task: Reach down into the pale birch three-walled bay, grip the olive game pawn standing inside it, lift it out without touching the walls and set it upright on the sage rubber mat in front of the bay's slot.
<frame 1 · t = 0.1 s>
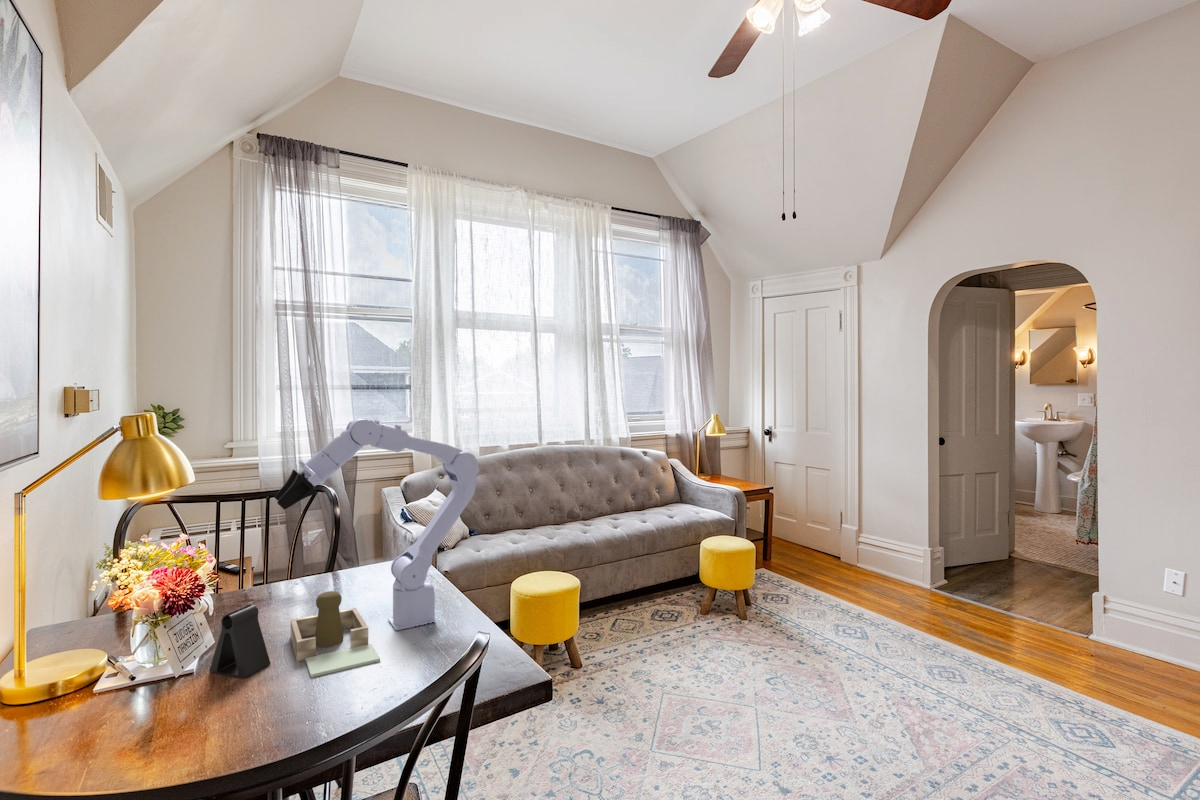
hand: (279, 503, 126), 32 cm above the table, tool tilted 50°, fingers open, 7 cm apart
black triangular stand: (240, 670, 117), on the table
olive game pawn: (328, 642, 130), resting in access bay
sage mat: (342, 661, 121), on the table
access bay: (328, 641, 130), on the table
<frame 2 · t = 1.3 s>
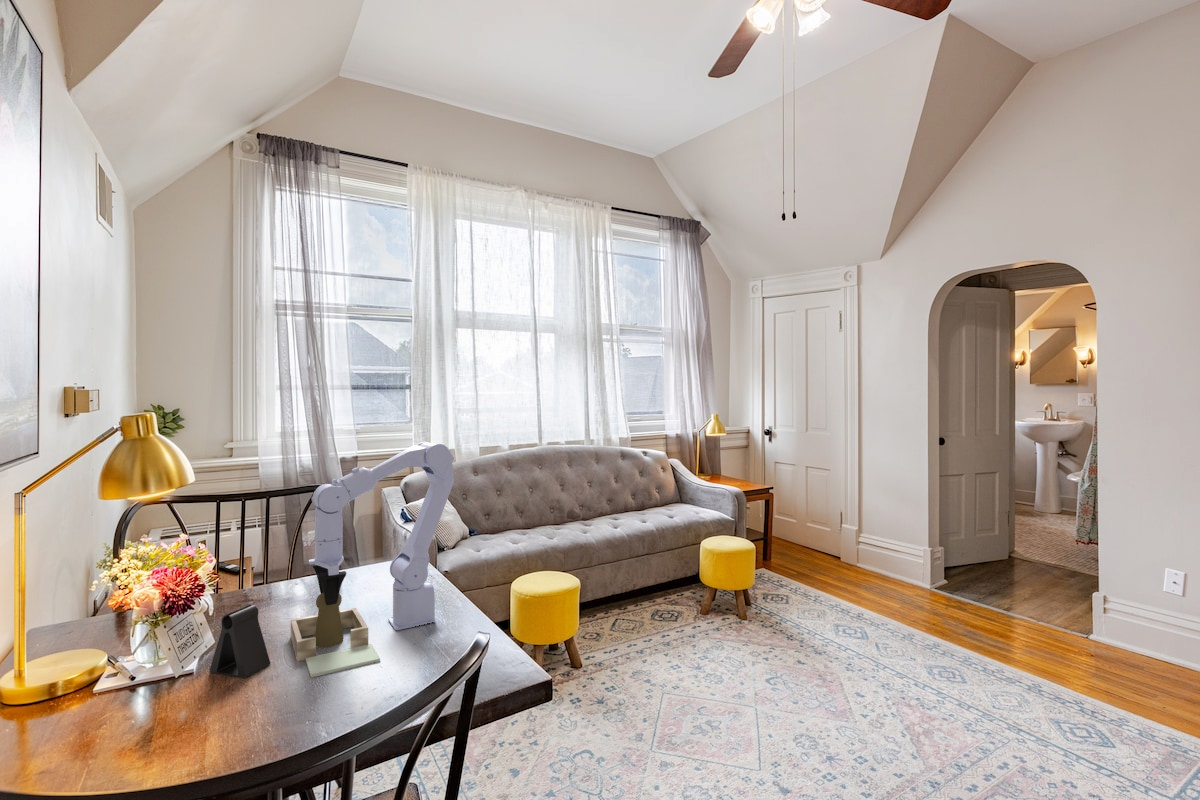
hand: (328, 598, 130), 10 cm above the table, tool pointing down, fingers open, 7 cm apart
nothing on the table moved.
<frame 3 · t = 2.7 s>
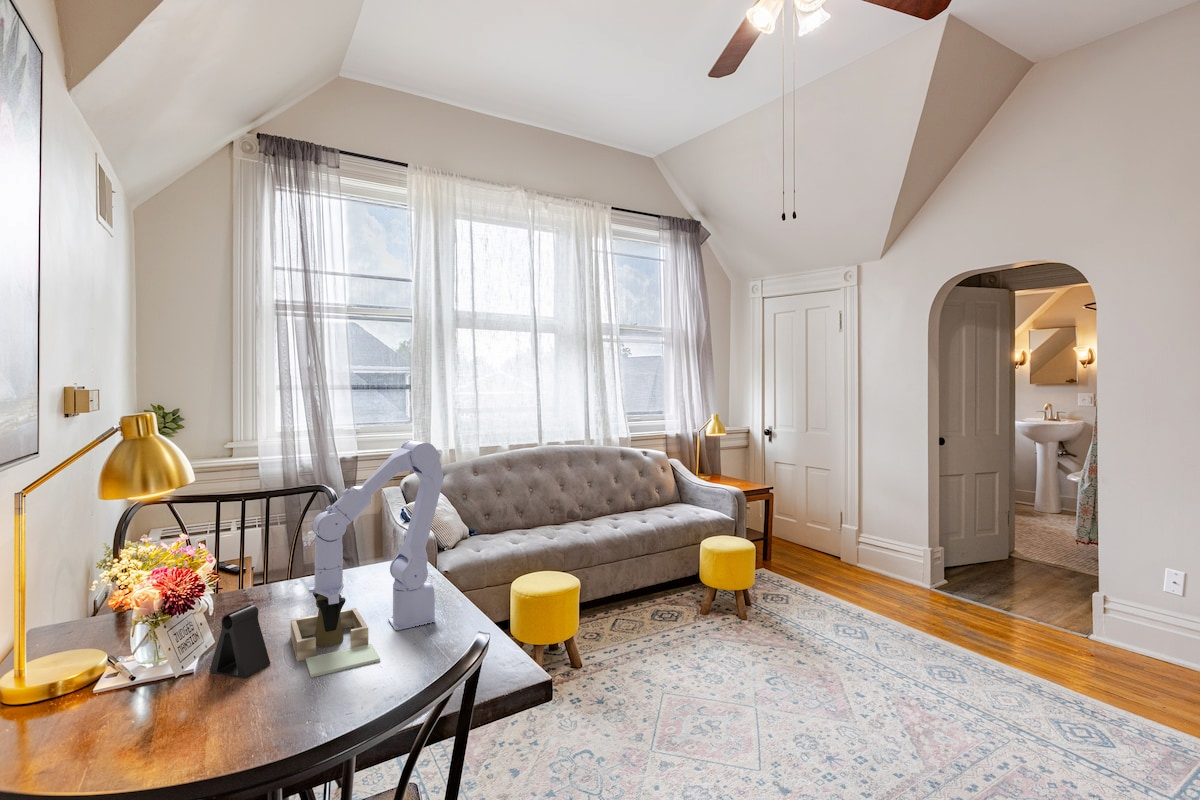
hand: (328, 626, 130), 3 cm above the table, tool pointing down, fingers closed on olive game pawn, 5 cm apart
olive game pawn: (328, 642, 130), resting in access bay, touching gripper
everything else where it was.
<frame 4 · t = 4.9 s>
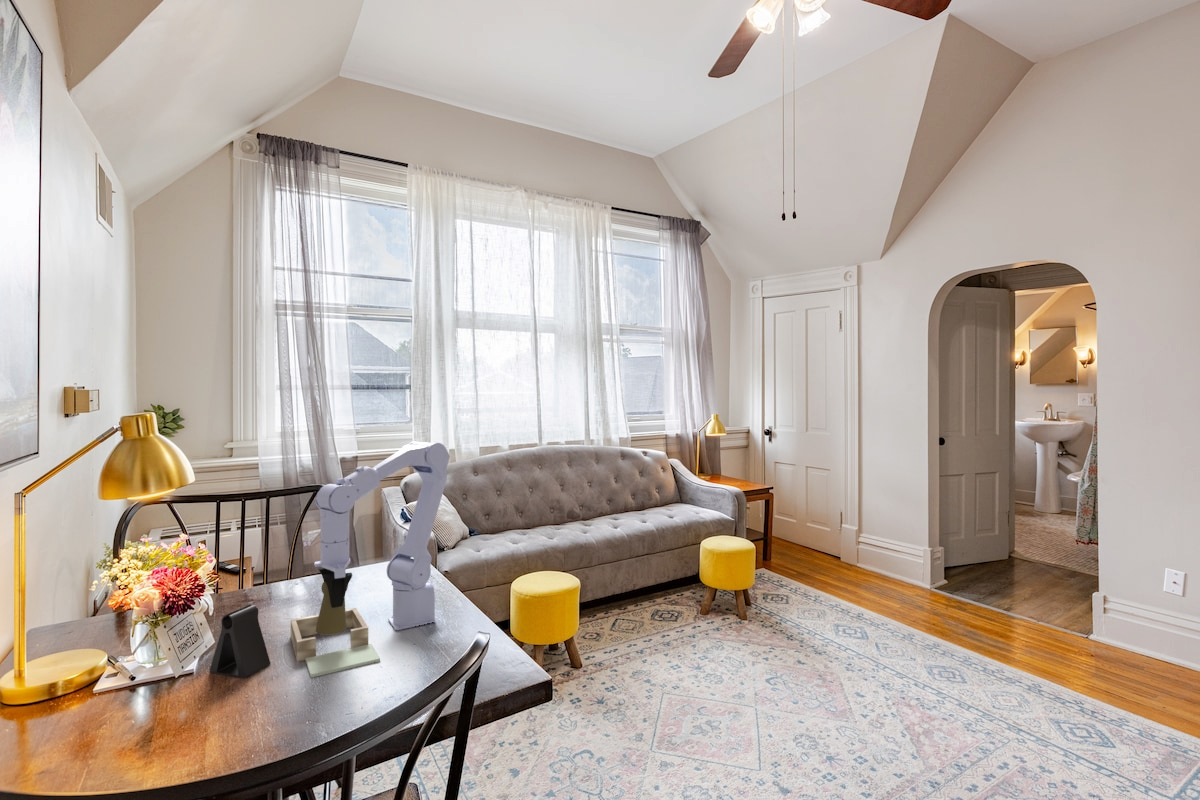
hand: (335, 602, 125), 10 cm above the table, tool pointing down, fingers closed on olive game pawn, 5 cm apart
olive game pawn: (330, 630, 125), point 4 cm above the table, touching gripper
everything else where it was.
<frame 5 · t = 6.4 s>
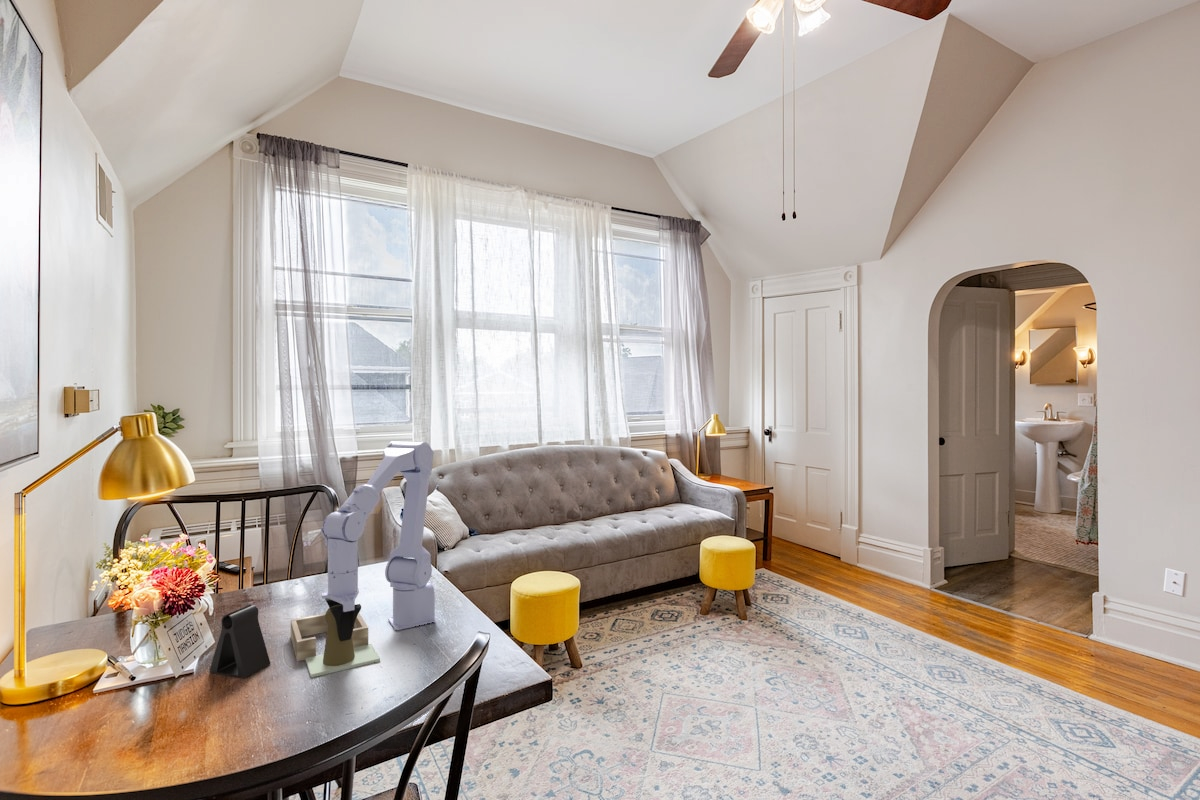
hand: (342, 635, 120), 5 cm above the table, tool pointing down, fingers closed on olive game pawn, 5 cm apart
olive game pawn: (338, 660, 120), resting on sage mat, touching gripper
everything else where it was.
when the fingers open (5 cm above the table, at t = 7.3 s): olive game pawn stays where it is, resting on sage mat.
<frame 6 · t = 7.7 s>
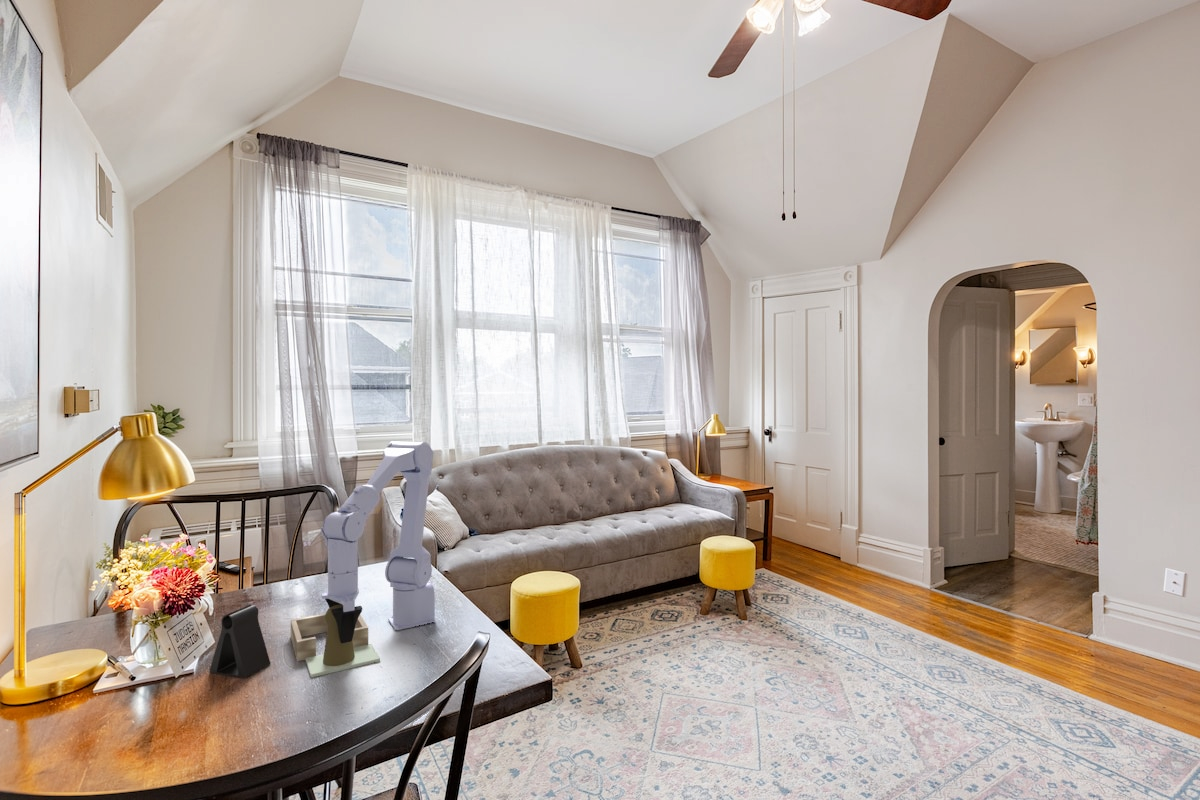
hand: (342, 635, 121), 5 cm above the table, tool pointing down, fingers open, 7 cm apart
olive game pawn: (338, 660, 120), resting on sage mat
everything else where it was.
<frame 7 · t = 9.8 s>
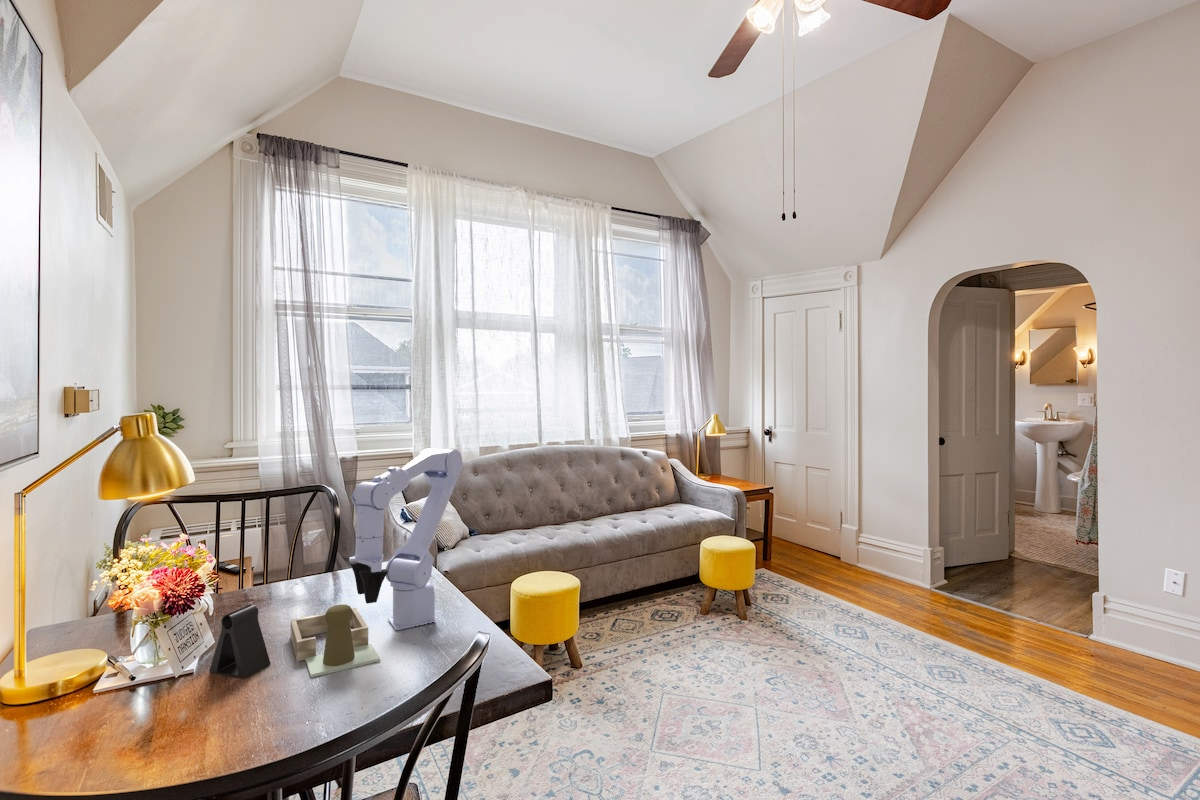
hand: (367, 597, 129), 10 cm above the table, tool pointing down, fingers open, 7 cm apart
nothing on the table moved.
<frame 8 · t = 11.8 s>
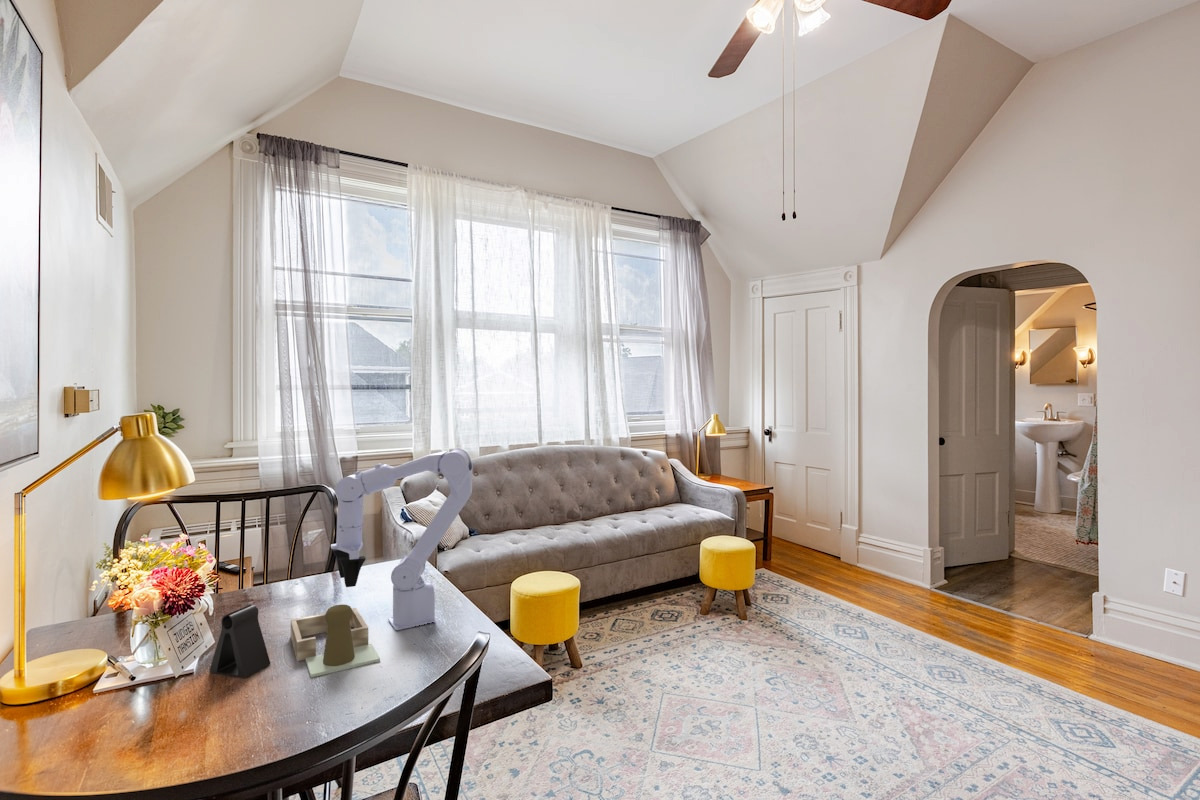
hand: (347, 581, 139), 10 cm above the table, tool pointing down, fingers open, 7 cm apart
nothing on the table moved.
at the end: olive game pawn 0.8 cm off-centre on the sage mat, point 0.4 cm above the sage mat's base; olive game pawn tilted 0°; olive game pawn touching sage mat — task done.
